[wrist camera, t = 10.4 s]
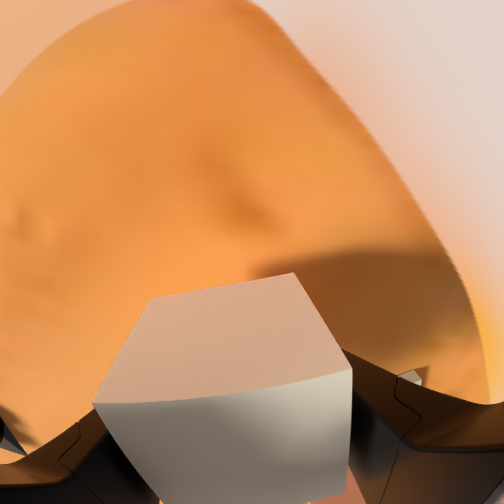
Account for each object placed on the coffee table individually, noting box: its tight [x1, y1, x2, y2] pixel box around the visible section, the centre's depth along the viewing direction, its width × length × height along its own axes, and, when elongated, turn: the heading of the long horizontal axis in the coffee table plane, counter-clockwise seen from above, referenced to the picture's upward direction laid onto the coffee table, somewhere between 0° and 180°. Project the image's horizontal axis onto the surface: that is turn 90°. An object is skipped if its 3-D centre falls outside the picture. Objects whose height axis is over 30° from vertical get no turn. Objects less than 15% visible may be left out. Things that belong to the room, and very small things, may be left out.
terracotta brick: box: [307, 465, 366, 504], centre depth 12 cm, size 4×4×5 cm
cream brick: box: [92, 272, 352, 504], centre depth 7 cm, size 4×4×5 cm
